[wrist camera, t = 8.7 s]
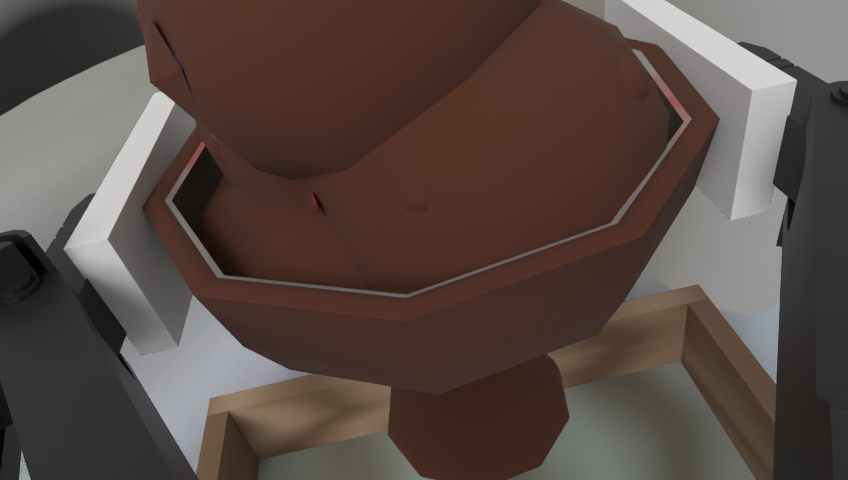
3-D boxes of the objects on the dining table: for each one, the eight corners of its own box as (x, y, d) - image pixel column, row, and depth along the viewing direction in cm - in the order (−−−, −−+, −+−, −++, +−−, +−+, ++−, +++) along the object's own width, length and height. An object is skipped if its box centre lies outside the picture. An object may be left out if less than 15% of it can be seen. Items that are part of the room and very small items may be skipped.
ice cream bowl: (767, 487, 14) (1066, -403, 5) (326, 678, 13) (-347, -77, 4) (560, 244, 23) (533, -260, 13) (278, 344, 21) (34, -144, 12)
